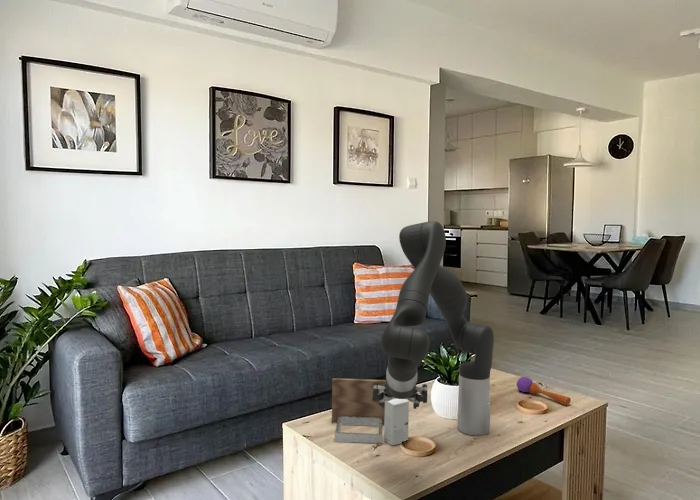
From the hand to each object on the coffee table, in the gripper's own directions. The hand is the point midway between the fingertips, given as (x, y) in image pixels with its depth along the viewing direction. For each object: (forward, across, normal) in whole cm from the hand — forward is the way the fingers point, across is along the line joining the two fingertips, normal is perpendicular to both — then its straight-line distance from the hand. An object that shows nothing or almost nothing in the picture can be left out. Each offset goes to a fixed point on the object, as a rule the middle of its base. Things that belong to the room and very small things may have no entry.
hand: (398, 404), depth 135 cm
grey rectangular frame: (+21, +11, 0) cm, 24 cm away
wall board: (+27, +11, -6) cm, 30 cm away
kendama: (+47, -55, -25) cm, 77 cm away
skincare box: (+18, 0, +3) cm, 19 cm away
